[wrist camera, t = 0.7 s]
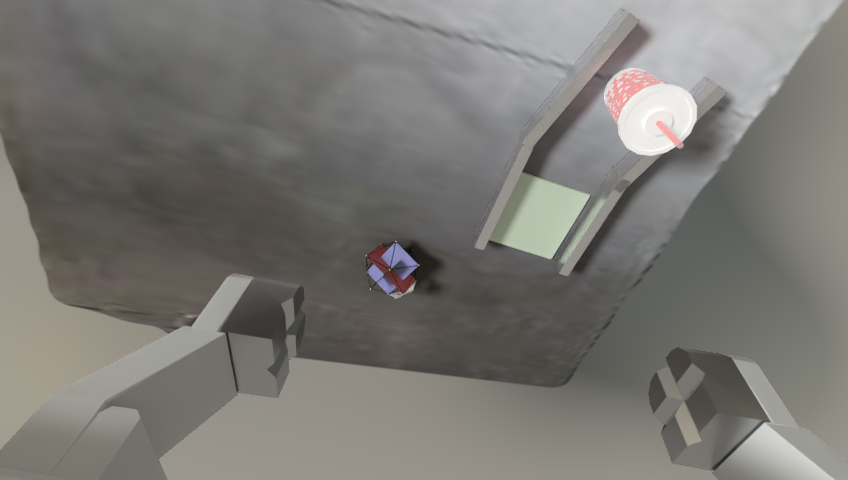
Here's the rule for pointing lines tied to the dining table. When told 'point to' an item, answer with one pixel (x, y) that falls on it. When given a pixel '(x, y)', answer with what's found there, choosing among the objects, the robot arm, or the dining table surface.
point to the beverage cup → (649, 111)
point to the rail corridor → (545, 116)
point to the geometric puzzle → (392, 269)
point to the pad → (538, 215)
